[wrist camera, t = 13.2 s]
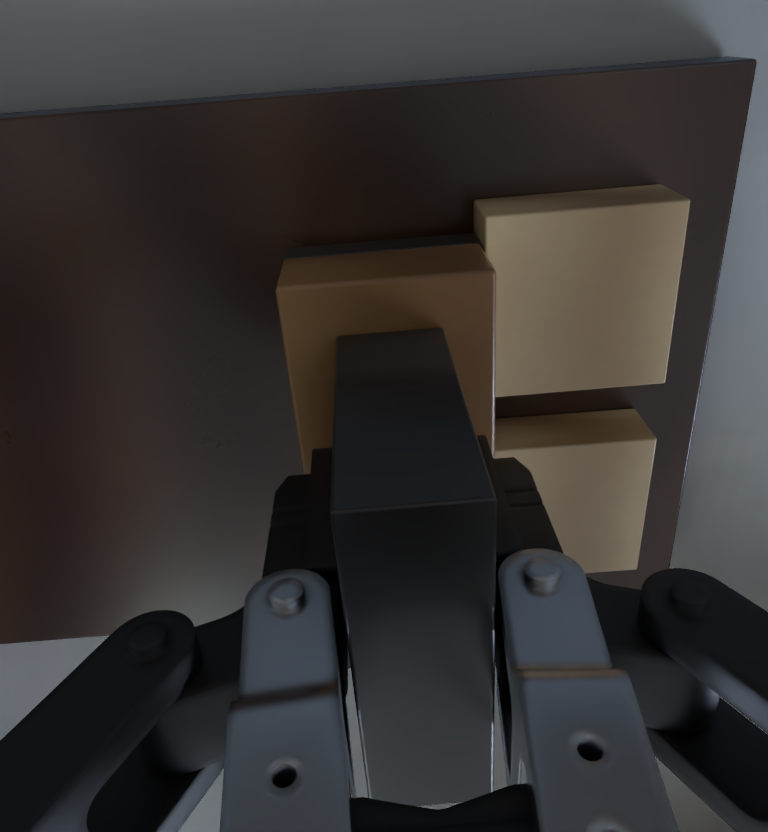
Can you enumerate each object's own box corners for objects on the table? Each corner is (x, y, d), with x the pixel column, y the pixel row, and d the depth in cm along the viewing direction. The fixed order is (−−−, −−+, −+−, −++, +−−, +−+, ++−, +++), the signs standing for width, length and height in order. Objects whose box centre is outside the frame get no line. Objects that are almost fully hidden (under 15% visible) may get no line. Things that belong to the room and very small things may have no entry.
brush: (327, 542, 19) (315, 852, 12) (285, 247, 15) (230, 447, 8) (476, 530, 19) (553, 831, 12) (474, 231, 15) (587, 417, 8)
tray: (-126, 626, 22) (-150, 657, 21) (-409, 145, 15) (-466, 155, 14) (650, 563, 22) (666, 590, 21) (729, 56, 15) (758, 58, 14)
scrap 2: (475, 544, 19) (484, 581, 18) (475, 419, 17) (485, 451, 16) (618, 533, 19) (637, 570, 18) (634, 407, 18) (657, 438, 16)
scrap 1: (475, 369, 17) (485, 399, 15) (472, 199, 15) (485, 216, 14) (641, 355, 17) (666, 383, 15) (661, 183, 15) (691, 198, 14)
